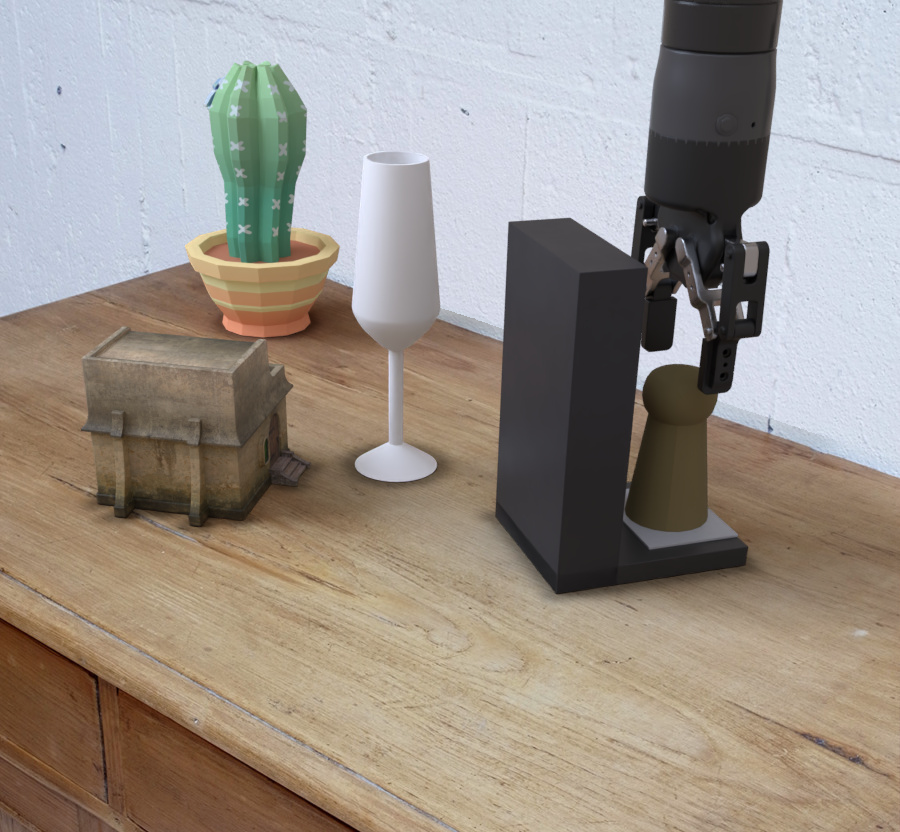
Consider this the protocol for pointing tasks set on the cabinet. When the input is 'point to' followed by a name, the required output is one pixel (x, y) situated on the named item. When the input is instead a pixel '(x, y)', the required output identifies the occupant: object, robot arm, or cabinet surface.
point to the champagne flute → (396, 288)
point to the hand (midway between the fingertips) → (683, 369)
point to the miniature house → (187, 424)
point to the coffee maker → (580, 416)
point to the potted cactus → (260, 207)
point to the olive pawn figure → (672, 452)
